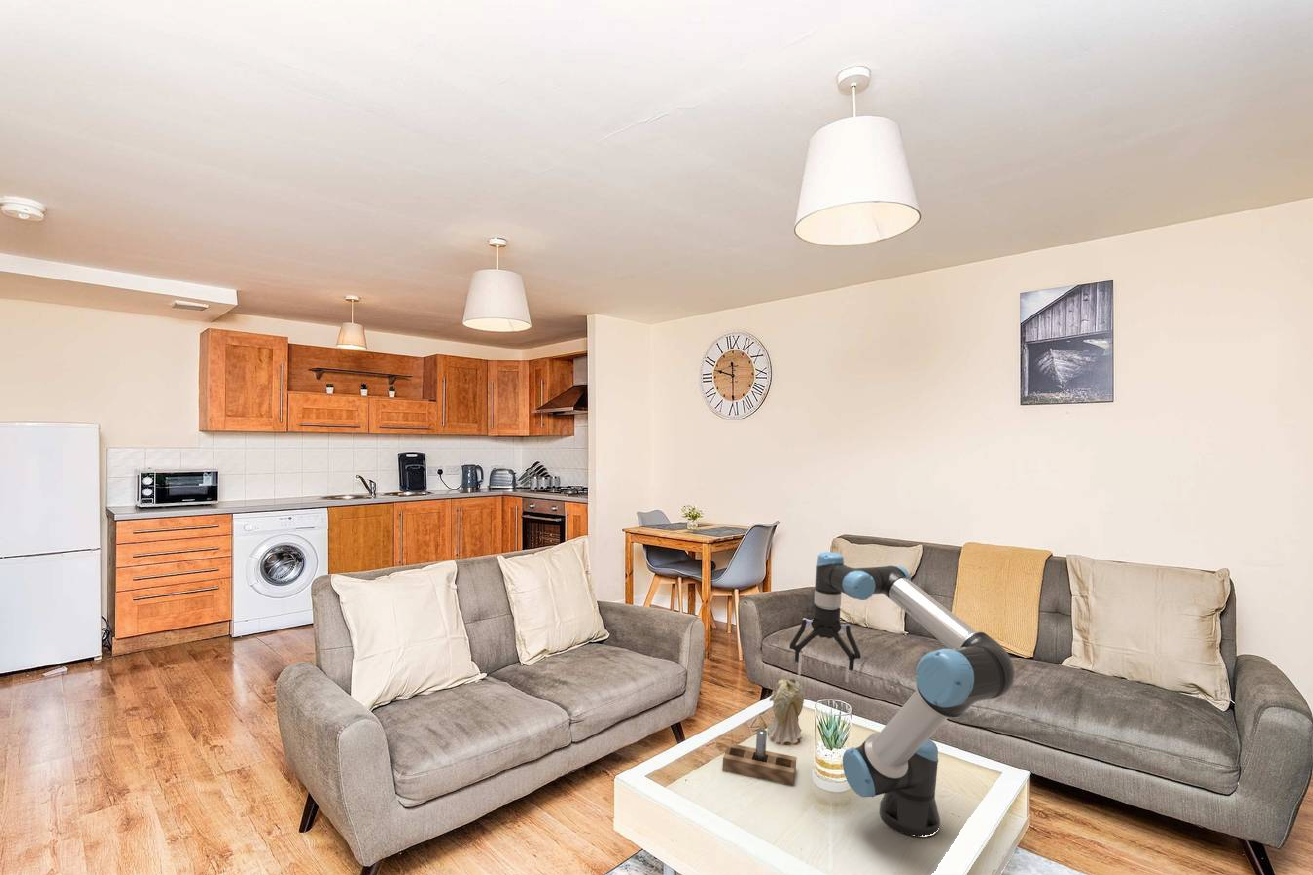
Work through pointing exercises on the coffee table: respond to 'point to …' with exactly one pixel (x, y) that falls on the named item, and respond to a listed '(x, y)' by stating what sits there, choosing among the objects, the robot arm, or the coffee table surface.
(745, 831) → the coffee table surface
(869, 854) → the coffee table surface
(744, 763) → the hole block
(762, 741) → the peg
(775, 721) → the figurine
